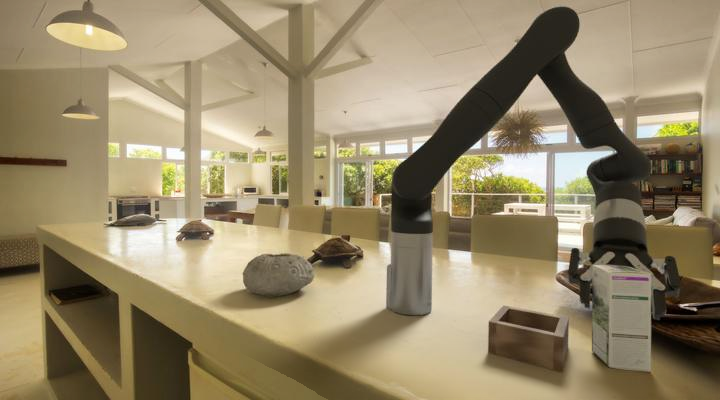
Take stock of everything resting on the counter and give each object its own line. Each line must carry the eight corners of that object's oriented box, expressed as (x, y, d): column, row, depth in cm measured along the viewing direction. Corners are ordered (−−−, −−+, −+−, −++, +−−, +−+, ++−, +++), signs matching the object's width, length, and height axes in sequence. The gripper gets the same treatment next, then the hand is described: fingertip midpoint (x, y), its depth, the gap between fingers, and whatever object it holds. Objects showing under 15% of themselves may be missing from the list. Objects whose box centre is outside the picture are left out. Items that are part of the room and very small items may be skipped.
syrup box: (652, 373, 49) (655, 273, 49) (606, 368, 50) (609, 270, 50) (630, 355, 55) (632, 265, 55) (589, 351, 56) (591, 263, 56)
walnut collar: (488, 352, 55) (488, 321, 55) (503, 332, 63) (503, 305, 63) (562, 372, 49) (563, 337, 49) (568, 346, 57) (568, 317, 57)
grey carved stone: (261, 282, 98) (261, 247, 98) (321, 285, 95) (321, 249, 95) (228, 300, 80) (229, 258, 80) (301, 305, 78) (302, 261, 77)
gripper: (571, 214, 63) (564, 289, 53) (675, 217, 54) (689, 307, 45) (572, 240, 67) (566, 313, 58) (669, 247, 59) (681, 334, 50)
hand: (620, 310), depth 51 cm, fingers open, 8 cm apart
